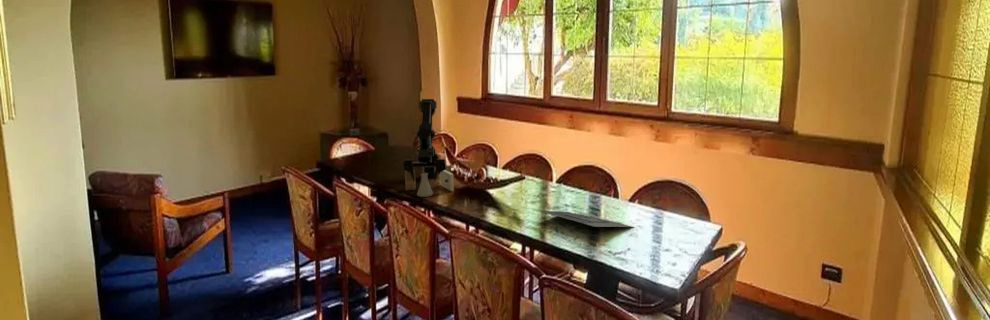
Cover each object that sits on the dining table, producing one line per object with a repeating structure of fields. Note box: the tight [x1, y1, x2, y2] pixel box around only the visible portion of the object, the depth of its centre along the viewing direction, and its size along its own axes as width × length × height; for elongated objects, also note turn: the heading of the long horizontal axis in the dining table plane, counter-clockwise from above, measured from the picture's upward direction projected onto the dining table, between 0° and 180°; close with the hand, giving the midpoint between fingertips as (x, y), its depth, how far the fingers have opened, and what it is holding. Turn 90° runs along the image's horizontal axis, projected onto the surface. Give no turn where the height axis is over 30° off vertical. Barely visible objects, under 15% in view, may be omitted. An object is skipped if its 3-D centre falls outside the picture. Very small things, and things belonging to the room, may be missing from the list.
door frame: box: [404, 164, 453, 191], centre depth 289 cm, size 2×23×9 cm, turn 118°
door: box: [439, 170, 455, 192], centre depth 286 cm, size 12×3×8 cm, turn 28°
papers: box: [540, 210, 633, 228], centre depth 235 cm, size 24×30×4 cm
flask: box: [416, 172, 434, 198], centre depth 275 cm, size 7×7×10 cm
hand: (424, 181), depth 274 cm, fingers open, 9 cm apart
